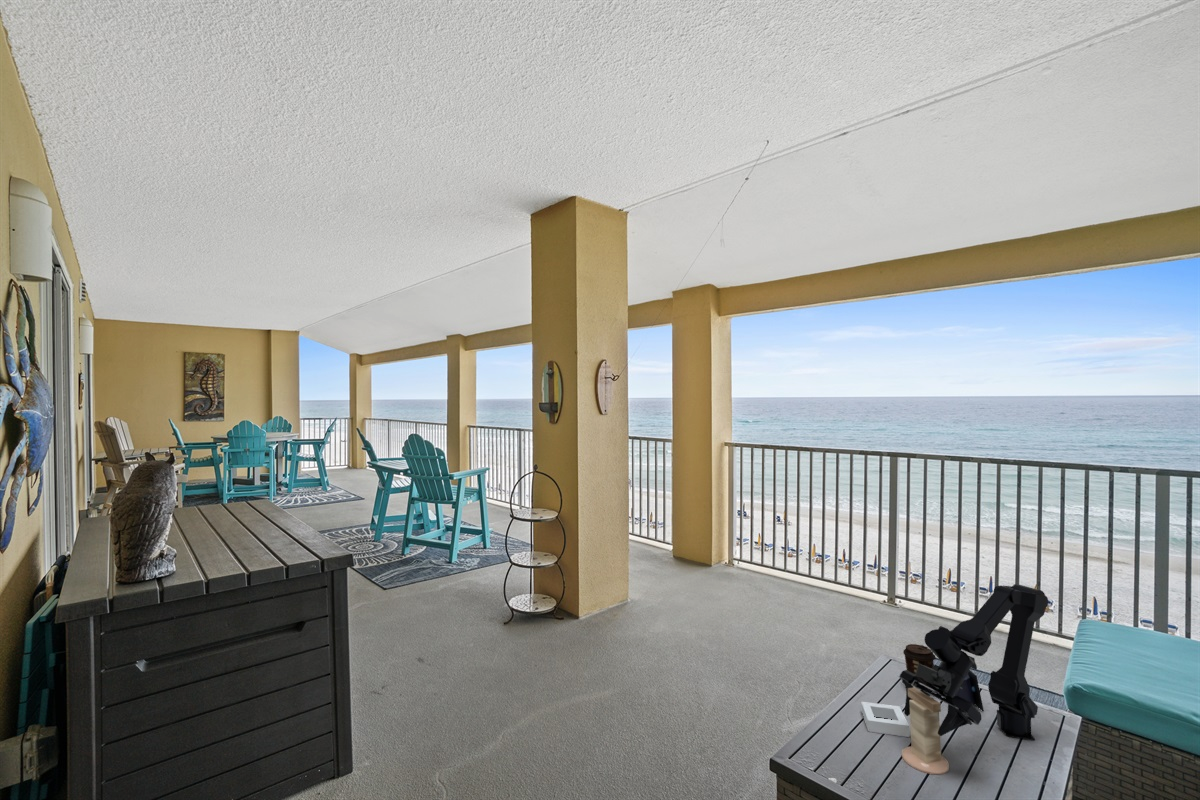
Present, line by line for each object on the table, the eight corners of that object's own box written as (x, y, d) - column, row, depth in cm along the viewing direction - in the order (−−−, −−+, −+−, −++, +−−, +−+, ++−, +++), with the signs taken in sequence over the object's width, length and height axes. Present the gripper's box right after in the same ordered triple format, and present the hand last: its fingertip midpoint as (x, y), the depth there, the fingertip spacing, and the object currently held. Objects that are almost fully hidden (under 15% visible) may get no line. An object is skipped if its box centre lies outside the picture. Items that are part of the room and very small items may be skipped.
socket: (899, 717, 151) (899, 706, 151) (909, 737, 142) (909, 725, 142) (861, 712, 154) (861, 701, 154) (868, 731, 145) (868, 720, 145)
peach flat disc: (941, 752, 135) (941, 749, 135) (955, 777, 126) (955, 775, 126) (897, 745, 138) (897, 743, 138) (907, 770, 129) (907, 767, 129)
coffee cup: (933, 686, 168) (931, 644, 169) (940, 699, 160) (938, 655, 161) (902, 682, 171) (900, 641, 172) (907, 695, 163) (906, 652, 164)
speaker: (981, 701, 158) (975, 666, 159) (984, 712, 153) (978, 676, 154) (951, 698, 162) (945, 664, 162) (953, 708, 157) (947, 673, 157)
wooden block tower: (921, 745, 137) (918, 686, 138) (947, 765, 129) (944, 702, 130) (906, 748, 136) (903, 688, 137) (931, 767, 128) (928, 705, 129)
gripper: (902, 639, 143) (872, 688, 139) (970, 669, 126) (939, 726, 122) (925, 663, 146) (896, 712, 142) (995, 696, 128) (965, 753, 124)
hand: (921, 724), depth 132 cm, fingers open, 9 cm apart
